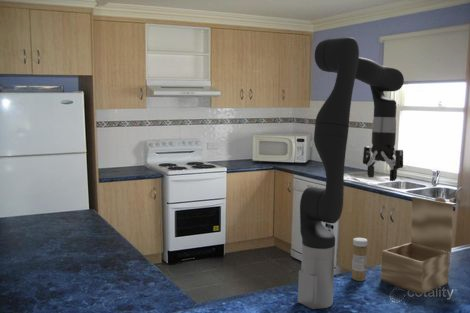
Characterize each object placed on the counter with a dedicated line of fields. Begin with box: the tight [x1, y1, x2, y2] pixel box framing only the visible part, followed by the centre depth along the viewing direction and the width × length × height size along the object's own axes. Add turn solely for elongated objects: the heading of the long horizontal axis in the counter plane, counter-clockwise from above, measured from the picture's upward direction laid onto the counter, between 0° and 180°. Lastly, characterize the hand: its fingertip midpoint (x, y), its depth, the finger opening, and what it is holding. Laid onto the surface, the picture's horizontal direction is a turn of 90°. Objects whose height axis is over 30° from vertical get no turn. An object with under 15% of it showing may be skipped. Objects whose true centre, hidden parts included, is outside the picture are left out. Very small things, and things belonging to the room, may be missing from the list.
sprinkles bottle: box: [351, 237, 369, 282], centre depth 154 cm, size 5×5×14 cm
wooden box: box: [380, 242, 451, 295], centre depth 152 cm, size 16×14×10 cm
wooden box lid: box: [410, 196, 454, 254], centre depth 157 cm, size 16×14×7 cm
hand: (381, 179), depth 158 cm, fingers open, 8 cm apart
